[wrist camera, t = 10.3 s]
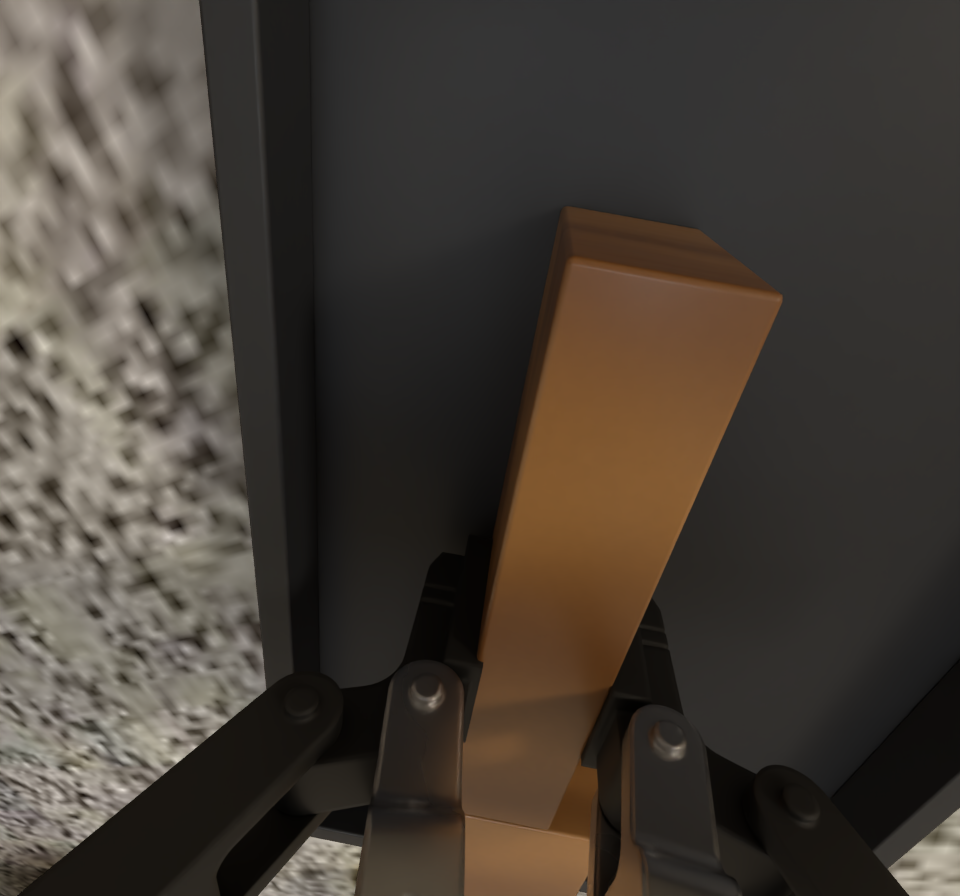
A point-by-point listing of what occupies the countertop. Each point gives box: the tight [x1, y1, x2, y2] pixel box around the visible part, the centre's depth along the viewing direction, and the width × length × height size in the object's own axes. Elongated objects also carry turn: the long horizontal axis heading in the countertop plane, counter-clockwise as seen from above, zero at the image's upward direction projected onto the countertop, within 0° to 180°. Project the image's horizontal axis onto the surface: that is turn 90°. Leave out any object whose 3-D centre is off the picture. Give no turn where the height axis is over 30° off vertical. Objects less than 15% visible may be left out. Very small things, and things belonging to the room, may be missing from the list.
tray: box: [199, 0, 960, 893], centre depth 13 cm, size 26×18×2 cm
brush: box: [462, 206, 783, 896], centre depth 12 cm, size 18×5×4 cm, turn 171°
